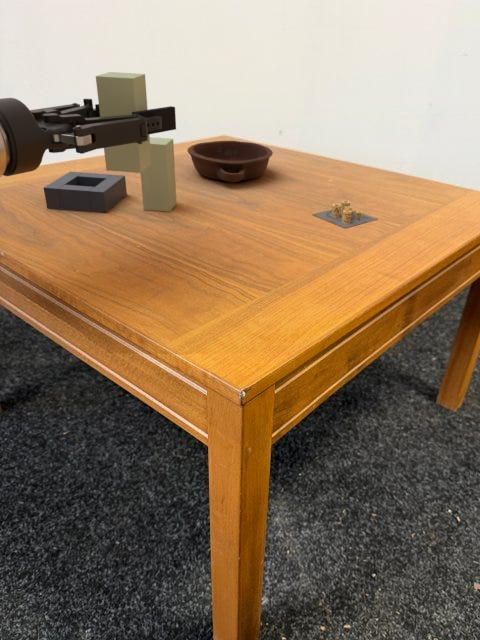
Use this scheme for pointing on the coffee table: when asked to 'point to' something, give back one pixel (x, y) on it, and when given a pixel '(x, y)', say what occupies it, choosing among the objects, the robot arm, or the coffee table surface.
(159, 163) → the standing block
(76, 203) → the socket block
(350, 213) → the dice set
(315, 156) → the coffee table surface
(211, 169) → the dish
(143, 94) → the tall olive green block
